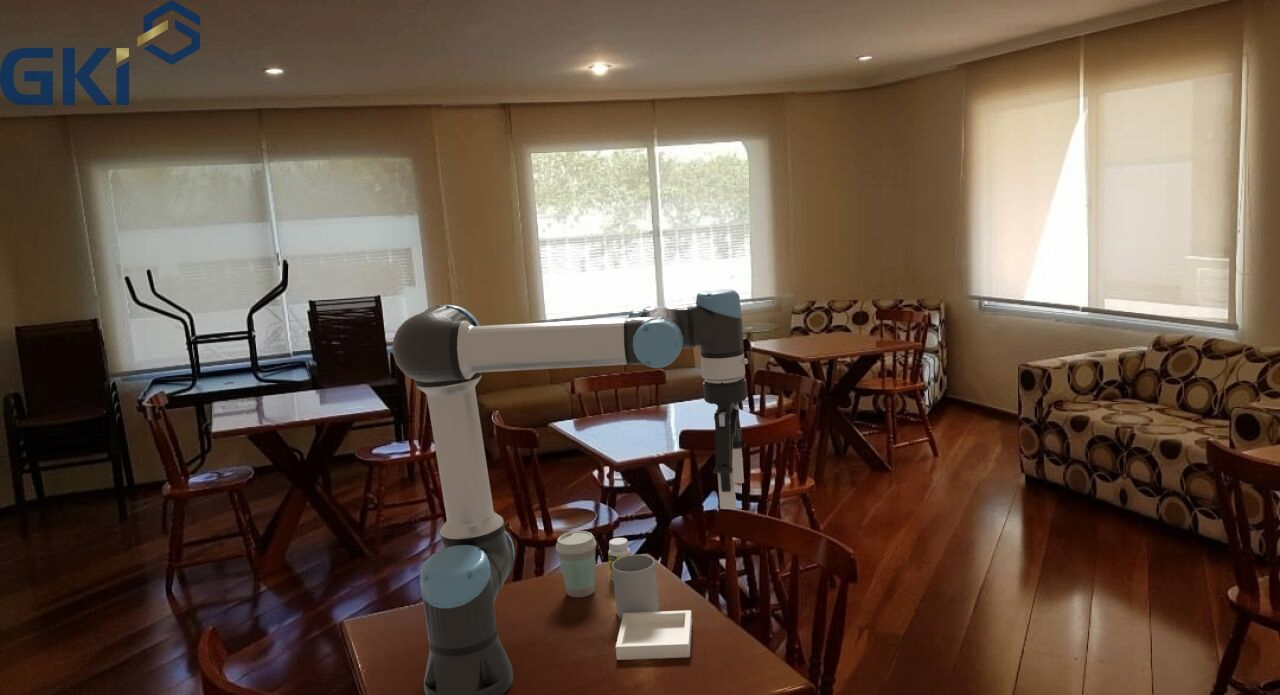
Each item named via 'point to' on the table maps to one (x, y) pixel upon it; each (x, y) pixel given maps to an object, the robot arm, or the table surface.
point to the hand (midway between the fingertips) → (732, 494)
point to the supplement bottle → (617, 551)
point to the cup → (635, 584)
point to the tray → (654, 635)
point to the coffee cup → (577, 562)
